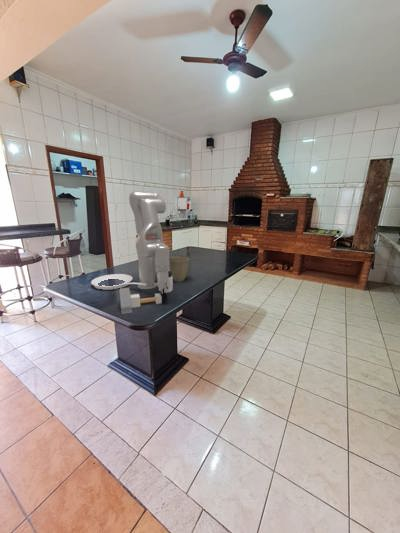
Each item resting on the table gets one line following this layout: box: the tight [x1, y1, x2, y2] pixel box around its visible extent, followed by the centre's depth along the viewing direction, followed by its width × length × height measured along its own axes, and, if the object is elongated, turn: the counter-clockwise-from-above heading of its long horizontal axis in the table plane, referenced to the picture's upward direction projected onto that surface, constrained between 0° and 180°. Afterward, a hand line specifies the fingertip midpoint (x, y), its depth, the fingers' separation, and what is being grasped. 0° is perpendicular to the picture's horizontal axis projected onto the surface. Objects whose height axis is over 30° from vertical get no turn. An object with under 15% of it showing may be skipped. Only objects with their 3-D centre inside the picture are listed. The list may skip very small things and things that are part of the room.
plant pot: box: [169, 256, 190, 283], centre depth 157 cm, size 15×15×16 cm
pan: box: [90, 273, 147, 291], centre depth 145 cm, size 26×44×6 cm, turn 59°
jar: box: [158, 271, 174, 293], centre depth 139 cm, size 9×8×12 cm
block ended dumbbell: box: [130, 292, 163, 308], centre depth 120 cm, size 4×16×6 cm, turn 111°
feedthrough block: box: [118, 287, 133, 315], centre depth 116 cm, size 16×5×9 cm, turn 21°
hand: (163, 299), depth 123 cm, fingers closed
